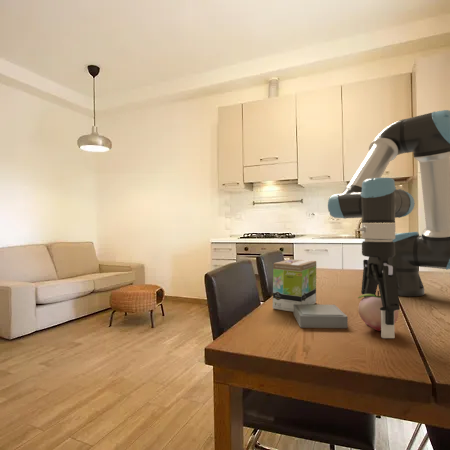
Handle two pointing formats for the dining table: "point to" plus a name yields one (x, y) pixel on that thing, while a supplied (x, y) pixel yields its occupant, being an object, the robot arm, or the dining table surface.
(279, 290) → the tea box
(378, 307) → the decorative fruit
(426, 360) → the dining table surface
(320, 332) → the dining table surface
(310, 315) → the slate trivet
